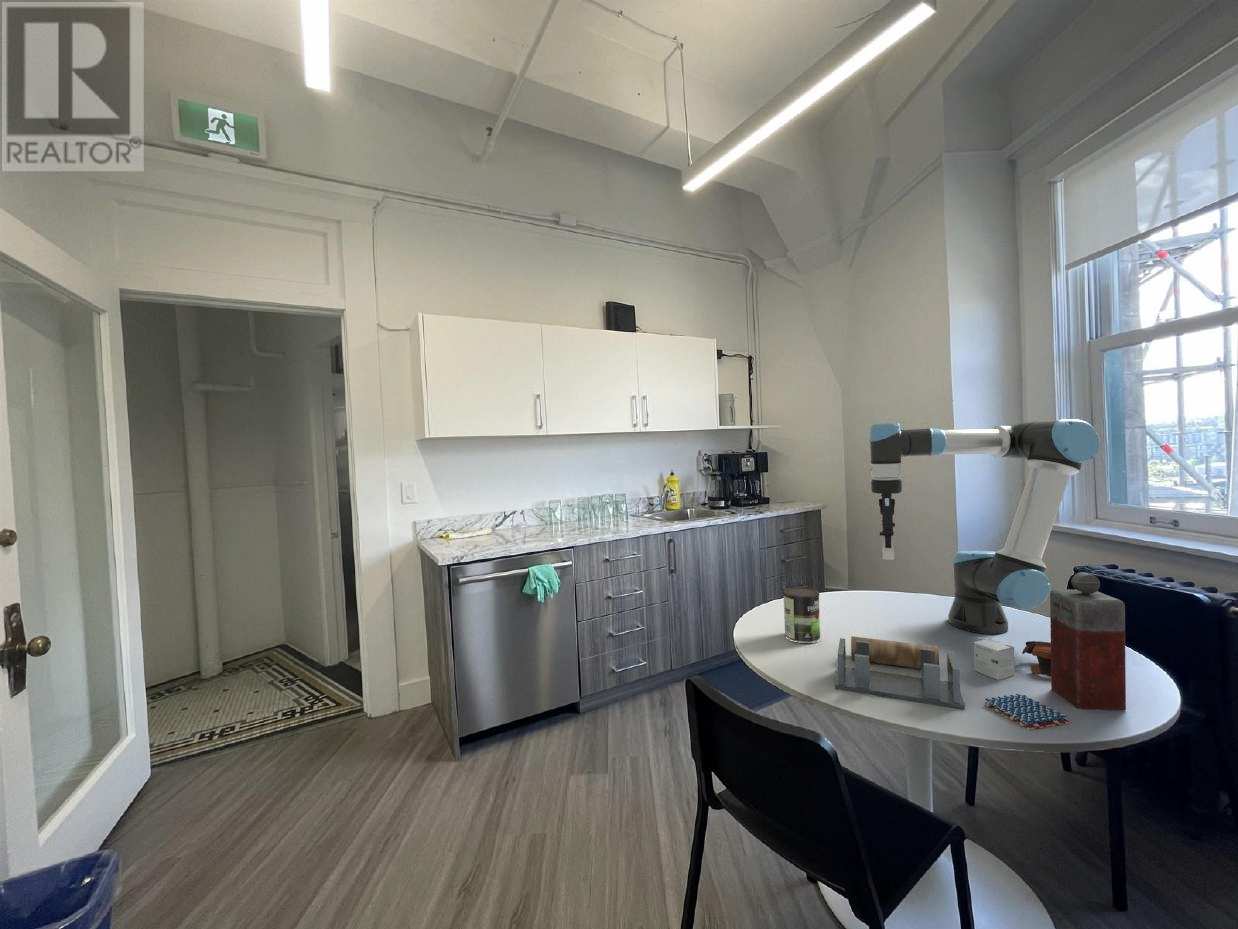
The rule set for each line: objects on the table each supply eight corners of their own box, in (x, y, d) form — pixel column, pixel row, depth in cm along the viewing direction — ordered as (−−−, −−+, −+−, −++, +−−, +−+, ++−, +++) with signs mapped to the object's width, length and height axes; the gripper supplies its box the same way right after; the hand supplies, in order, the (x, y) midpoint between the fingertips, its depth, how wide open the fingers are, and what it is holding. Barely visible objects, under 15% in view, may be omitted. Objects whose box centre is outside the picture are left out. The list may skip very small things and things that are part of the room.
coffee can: (827, 637, 153) (825, 590, 153) (809, 647, 147) (808, 598, 146) (795, 629, 161) (794, 584, 161) (777, 638, 154) (776, 592, 154)
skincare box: (973, 670, 128) (972, 641, 128) (989, 666, 130) (989, 637, 130) (998, 680, 122) (998, 650, 122) (1015, 675, 124) (1014, 646, 124)
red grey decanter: (1088, 685, 118) (1086, 566, 117) (1126, 711, 107) (1125, 578, 106) (1044, 684, 119) (1042, 566, 118) (1078, 708, 108) (1076, 578, 107)
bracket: (957, 687, 120) (956, 651, 120) (965, 709, 110) (964, 671, 110) (837, 669, 132) (836, 637, 131) (834, 688, 122) (833, 653, 121)
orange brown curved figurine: (1016, 672, 127) (1013, 638, 130) (1036, 681, 131) (1033, 648, 134) (1075, 677, 117) (1071, 640, 120) (1096, 686, 120) (1091, 650, 124)
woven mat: (1029, 734, 101) (1029, 724, 101) (982, 707, 112) (982, 698, 112) (1072, 726, 103) (1072, 716, 103) (1022, 701, 114) (1022, 692, 113)
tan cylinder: (937, 665, 132) (936, 642, 132) (939, 675, 127) (939, 651, 126) (852, 654, 141) (851, 633, 141) (851, 663, 136) (850, 641, 135)
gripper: (871, 475, 155) (873, 544, 155) (870, 482, 133) (872, 563, 133) (900, 475, 151) (902, 546, 152) (903, 482, 129) (905, 565, 130)
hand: (888, 554), depth 143 cm, fingers open, 13 cm apart
